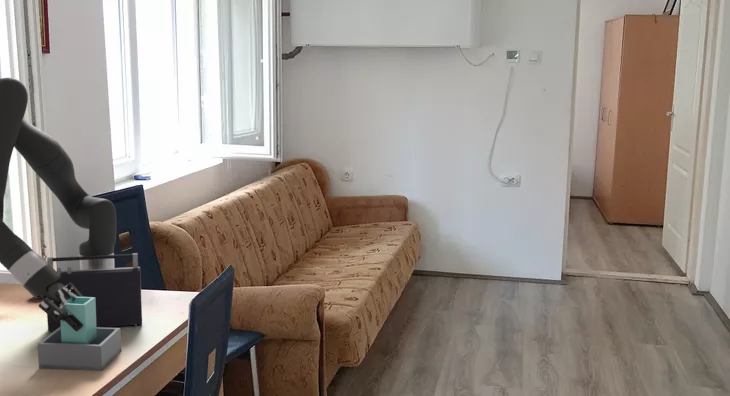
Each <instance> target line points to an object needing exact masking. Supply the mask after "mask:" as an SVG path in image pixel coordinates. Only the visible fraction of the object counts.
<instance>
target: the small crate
mask: <svg viewBox="0 0 730 396" xmlns="http://www.w3.org/2000/svg"><path fill="white" fill-rule="evenodd" d="M76 298H77V299H76V300H75V301H74V302H73V301H72V300H73V298H70V299H69V300H67V304H66V308H67V309H68V310H69V311H70V312H71V315H72V314H73V315H74V316H75V317H76V318H77V319H78V320H79V321H80V322H81V323H82V324H83V327H82V328H81V329H80V330H78V331H75V330H74V329H73V328H72V327H71V326H70V325H69V324H68V323H66V322H65V321H62V320H61V343H64V344H89V343H90V342H91V341H93V340H94V339H95V338H96V337H97V328H96V301H95V297H76ZM61 305H62V303H61V304H60V306H61ZM63 311H64V309H63ZM64 312H65V311H64Z"/></svg>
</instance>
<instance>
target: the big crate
mask: <svg viewBox="0 0 730 396" xmlns="http://www.w3.org/2000/svg"><path fill="white" fill-rule="evenodd" d="M96 328H97V337H96V338H95V339H94V340H93V341H91V342H90V343H89V344H64V343H61V326H60V327H59V328H58V329H56V330H55V331H54V330H53V331H52V332H51V333H49V335H47V336H46V337H45V338H43V339H42V340H40V341H39V342H38V343H37V353H38V369H51V370H53V369H55V370H77V371H78V370H79V371H80V370H81V371H103V370H104V369H105V368H106V367H107V366H109V364H110V363H111V362H112V361H113V360H114V359H115V358H116V357H117V356H118V355H119V354H120V353H121V352H122V344H121V343H122V341H121V340H122V339H121V338H122V335H121V333H122V332H121V328H120V327H96Z"/></svg>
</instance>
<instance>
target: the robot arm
mask: <svg viewBox="0 0 730 396" xmlns="http://www.w3.org/2000/svg"><path fill="white" fill-rule="evenodd" d="M28 95H29V94H28V90H27V88H26V86H25V84H24V83H23V82H22V81H21V80H19V79H17V78H15V77H3V78H0V264H1V265H2V266H3V267H4V268H5V269H6V270H7V271H8V272H9V273H10V274H11V275H12V277H13V278H14V279H15V280H16V281H17V282H18V284H20V285H21V286H22V287H23V288H24V289H25V290H26V291H27V292H28V293H29V294H30V295H31V296H32V297H33V298H35V299H42V301H41V302H39V304H38V307H39V308H40V309H41V310H42V311H44V312H45V314H46V315H47V314H48V315H49V316H51V317H52V318H53V319H54V320H55V321H57V322H59V321H60V320H62V321H65V322H66V323H68V324H69V325H70V326H71V327H72V328H73V329H74V330H75V331H78V330H80V329H81V328H82V327H83V324H82V323H81V322H80V321H79V320H78V319H77V318H76V317H75V316H74V315H73V314H72V315H71V312H70V311H69V310H68V309H67V308H66V304H67V300H69V299H70V298H73V300H72V301H73V302H74V301H75V300H76V299H77V298H76V297H77V296H78V297H84V296H83V295H82V294H81V293H80V292H79V291H78V290H77V289H76V287H75V286H74V285H73V284H72V283H69V284H68V285H67V286H64V285H63V284H61V283H60V282H59V280H60V279H61V276H60V275H59V274H58V273H57V272H56V271H57V270H55V268H54V267H53V268H52V267H51V266H50V265H49V264H48V263H47V260H45V259H44V258H43V256H41V255H40V254H39V253H37V252H36V251H34V250H33V249H32V248H31V247H30V245H28V244H27V243H26V242H25V241H24V240H23V239H22V238H21V237H19V236H18V235H17V234H15V233H14V231H12V229H11V228H10V227H9V226H8V225H7V224H6V223H5V222H4V212H5V210H4V207H5V194H6V190H7V183H8V177H9V169H10V163H11V158H12V154H13V151H14V149H15V150H16V151H17V152H18V153H19V154H20V155H21V156H22V157H23V159H24V160H25V162H26V163H27V164H28V165H29V167H31V169H32V170H33V171H34V172H35V174H36V175H37V176H38V177H39V178H40V179H41V180H42V182H43V183H44V184H45V185H46V186H47V187H48V189H49V190H50V191H51V192H52V193H53V194H54V195H55V197H57V199H58V201H59V203H60V204H61V205H62V206H63V208H64V210H65V211H66V212H67V214H68V215H69V217H70V218H71V219H70V220H72V221H73V222H74V224H75V225H77V226H78V227H80V228H81V229H85V230H88V240H86V241H83V242H82V243H80V244H79V247H78V251H79V254H78V255H79V257H81V256H101V255H115V253H114V252H115V249H114V248H115V244H116V242H117V221H118V220H117V209H116V207H115V205H114V203H113V202H112V201H111V200H109V199H107V198H101V197H97V196H96V197H95V196H91V195H90V194H88V192H86V191H85V190H84V188H83V187H82V186H81V185H80V184H79V182H78V181H77V179H76V176H75V175H76V174H75V168H74V164H73V161H72V159H71V157H70V156H69V154H68V153H67V152H66V150H65V149H64V148H63V147H62V146H61V144H60V143H59V142H58V141H57V140H56V139H55V138H54V137H52V136H51V135H50V134H48V133H46V132H45V131H44V130H42V129H39V128H38V127H36V126H35V125H33V124H31V123H29V121H27V120H25V118H24V117H25V114H26V111H27V106H28V101H29V99H28V98H29V96H28ZM108 268H115V258H113V259H93V260H79V270H89V269H108ZM40 297H42V298H40ZM61 303H62V305H61V306H60V304H61ZM63 309H64V311H65V312H64V311H63ZM53 312H54V313H55V314H58V316H57V315H55V314H54V313H53Z"/></svg>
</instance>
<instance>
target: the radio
mask: <svg viewBox="0 0 730 396" xmlns="http://www.w3.org/2000/svg"><path fill="white" fill-rule="evenodd" d="M138 257H139V256H138V252H136V253H135V252H134V253H128V254H127V253H126V254H123V253H122V254H114V255H101V256H81V257H80V256H65V257H64V256H63V257H53V256H52V257H51V256H50V257H47V258H46V262H47V263H48V264H49V265H50V266H51V267H52V268H53V269H54V262H69V261H70V262H71V261H80V260H93V259H113V258H114V259H129V258H131V259H132V267H130V266H129V267H114V268H108V269H89V270H80V269H75V270H74V269H73V270H72V266H69V267H66V269H67V270H62V268H61V267H57V268H56V270H55V271H56V272H57V273H58V274H59V275H60V276H61V279H60V280H59V282H60V283H61V284H63V285H64V286H67V285H68V284H69V283H72V284H73V285H74V286H75V287H76V289H77V290H78V291H79V292H80V293H81V294H82V295H83V296H84V297H95V301H96V327H103V328H107V327H115V326H116V327H119V326H130V325H134V326H135V327H138V325H142V324H143V309H142V308H143V307H142V306H143V305H142V282H141V281H142V279H141V275H142V274H141V266H139V262H138V261H139V260H138V259H139V258H138ZM77 297H78V296H77ZM53 313H54V312H53ZM54 314H55V313H54ZM55 315H57V316H58V314H55ZM46 318H47V331H52V332H54V331H55V330H56V329H58V328H59V327H60V326H61V320H60V321H59V322H57V321H55V320H54V319H53V318H52V317H51V316H49V315H48V314H47V313H46Z"/></svg>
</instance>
